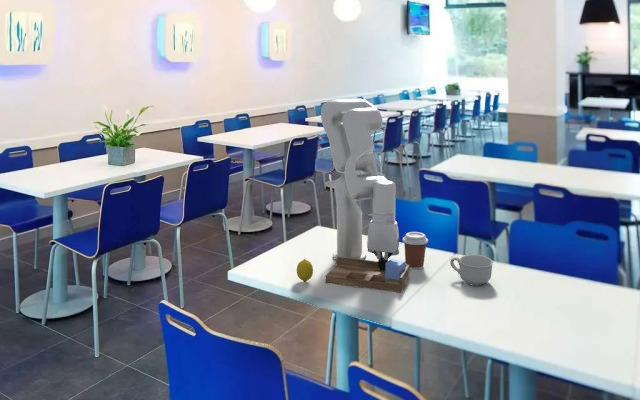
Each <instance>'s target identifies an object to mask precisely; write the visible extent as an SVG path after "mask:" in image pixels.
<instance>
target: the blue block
mask: <svg viewBox="0 0 640 400" xmlns="http://www.w3.org/2000/svg"><path fill="white" fill-rule="evenodd" d="M405 264H406V262H405V260H403V259H402V260H401V259H395V258H389V259H388V262H386V268H385V277H387V278H392V279H397V280H399V278H400V276H401V274H402V273H403V271H404V269H405Z"/></svg>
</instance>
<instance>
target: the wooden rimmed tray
mask: <svg viewBox="0 0 640 400" xmlns="http://www.w3.org/2000/svg"><path fill="white" fill-rule="evenodd" d="M410 270H411V269H410V265H408V264H406V263H405V269H404V271H403V273H402V274H401V276H400V278H399V280H397V279H392V278H387V277H385V271H380V267H378V260H369V259H363V260H361V259H352V258H343V257H337V260H336V264H335V265H334V266H333V267H332V269H331V270H330V271H329V272H328V273H327V274H326V275H325V276H324V277H325V278H324V279H325V284H329V285H330V284H331V285H339V286H346V287H347V286H348V287H355V288H364V289H372V290H379V291H387V292H396V293H403V291H404V289H405V287H406V285H407V283H408V282H409V280H410V273H411V272H410Z"/></svg>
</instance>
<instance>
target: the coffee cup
mask: <svg viewBox="0 0 640 400" xmlns="http://www.w3.org/2000/svg"><path fill="white" fill-rule="evenodd" d="M402 242H403V244H404V245H403V246H404V261H405V264H408V265H410V270H421V269H420V268H422V269H423V268H424V267H423V266H424V265H425V258H426V257H425V255H426V246H427V244H428V242H429V239H428V238H427V237H426V234H424V233H423V232H418V231H410V232H407V233H406V234H405V235H404V237H402Z"/></svg>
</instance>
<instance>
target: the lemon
mask: <svg viewBox="0 0 640 400" xmlns="http://www.w3.org/2000/svg"><path fill="white" fill-rule="evenodd" d="M313 267H314V266H313V264H312V263H311V261H309V260H308V259H302V260H300V261H299V262H298V264H297V266H296V274H297V275H296V276H297V277H298V279H300V280H301V281H303V283H306V282H307V281H309V280H310V279H311V278H312V277H313V274H314V268H313Z"/></svg>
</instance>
